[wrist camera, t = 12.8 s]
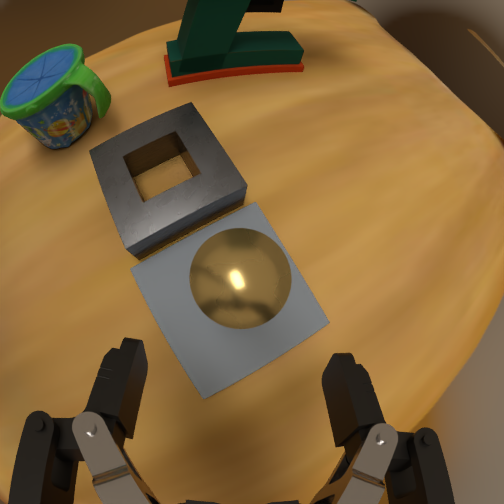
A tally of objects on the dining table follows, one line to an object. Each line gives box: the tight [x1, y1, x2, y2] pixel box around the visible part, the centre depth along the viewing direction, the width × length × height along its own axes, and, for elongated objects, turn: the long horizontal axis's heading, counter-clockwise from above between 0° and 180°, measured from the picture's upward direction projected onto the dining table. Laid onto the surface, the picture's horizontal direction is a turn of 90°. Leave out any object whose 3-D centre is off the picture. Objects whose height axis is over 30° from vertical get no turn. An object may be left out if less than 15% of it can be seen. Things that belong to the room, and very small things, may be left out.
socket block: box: [89, 102, 247, 260], centre depth 24 cm, size 11×11×4 cm
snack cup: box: [0, 44, 111, 149], centre depth 22 cm, size 16×11×10 cm
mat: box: [130, 202, 330, 399], centre depth 24 cm, size 13×13×1 cm
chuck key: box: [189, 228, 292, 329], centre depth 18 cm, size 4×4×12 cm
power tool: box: [164, 0, 357, 87], centre depth 23 cm, size 32×7×20 cm, turn 106°
